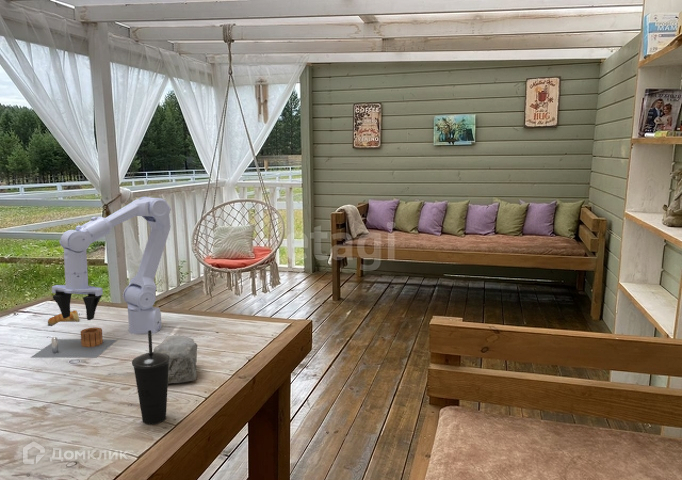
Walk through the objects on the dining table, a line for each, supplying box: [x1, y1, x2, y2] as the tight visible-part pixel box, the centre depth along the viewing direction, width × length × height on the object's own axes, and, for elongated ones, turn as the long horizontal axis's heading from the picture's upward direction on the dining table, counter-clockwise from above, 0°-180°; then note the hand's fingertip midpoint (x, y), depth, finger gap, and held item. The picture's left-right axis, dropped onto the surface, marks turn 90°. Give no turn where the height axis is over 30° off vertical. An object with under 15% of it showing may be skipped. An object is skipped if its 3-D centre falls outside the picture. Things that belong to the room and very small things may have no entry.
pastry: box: [47, 309, 80, 326], centre depth 173 cm, size 9×7×4 cm
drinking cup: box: [131, 330, 170, 426], centre depth 109 cm, size 8×8×20 cm
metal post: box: [51, 336, 59, 354], centre depth 142 cm, size 2×2×4 cm
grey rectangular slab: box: [30, 338, 118, 359], centre depth 146 cm, size 18×14×2 cm
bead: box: [80, 326, 103, 347], centre depth 149 cm, size 6×6×4 cm
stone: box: [152, 335, 198, 385], centre depth 131 cm, size 13×12×10 cm
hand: (78, 318), depth 146 cm, fingers open, 7 cm apart
